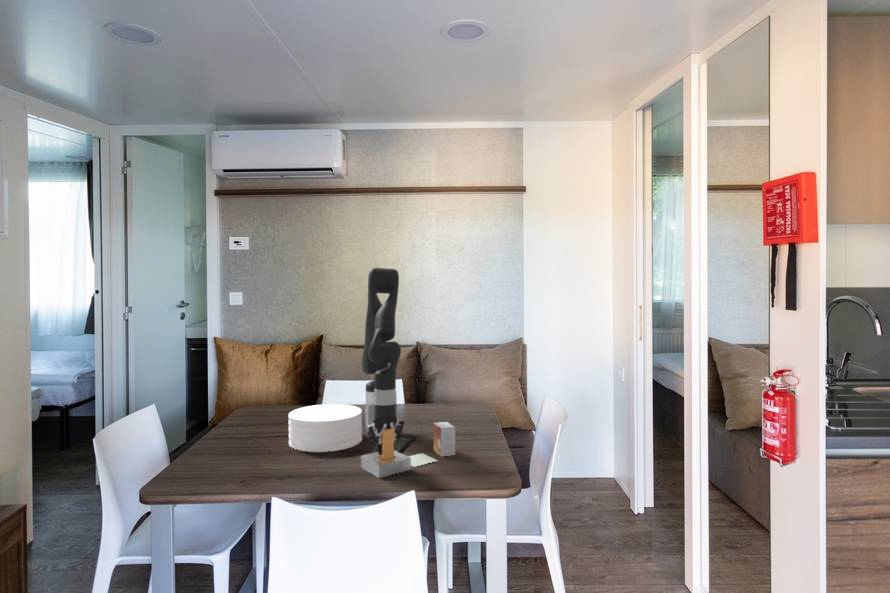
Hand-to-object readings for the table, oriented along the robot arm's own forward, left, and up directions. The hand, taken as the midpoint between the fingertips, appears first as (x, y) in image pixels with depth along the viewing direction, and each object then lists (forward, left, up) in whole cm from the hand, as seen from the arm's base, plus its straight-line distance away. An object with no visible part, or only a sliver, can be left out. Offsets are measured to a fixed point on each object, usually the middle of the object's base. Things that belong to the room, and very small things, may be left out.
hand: (385, 452), depth 180 cm
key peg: (0, 0, -4) cm, 4 cm away
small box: (-1, +25, -6) cm, 26 cm away
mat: (0, +13, -5) cm, 14 cm away
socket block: (0, 0, -5) cm, 5 cm away
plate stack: (-42, -3, -6) cm, 42 cm away
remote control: (-18, +17, -6) cm, 26 cm away
